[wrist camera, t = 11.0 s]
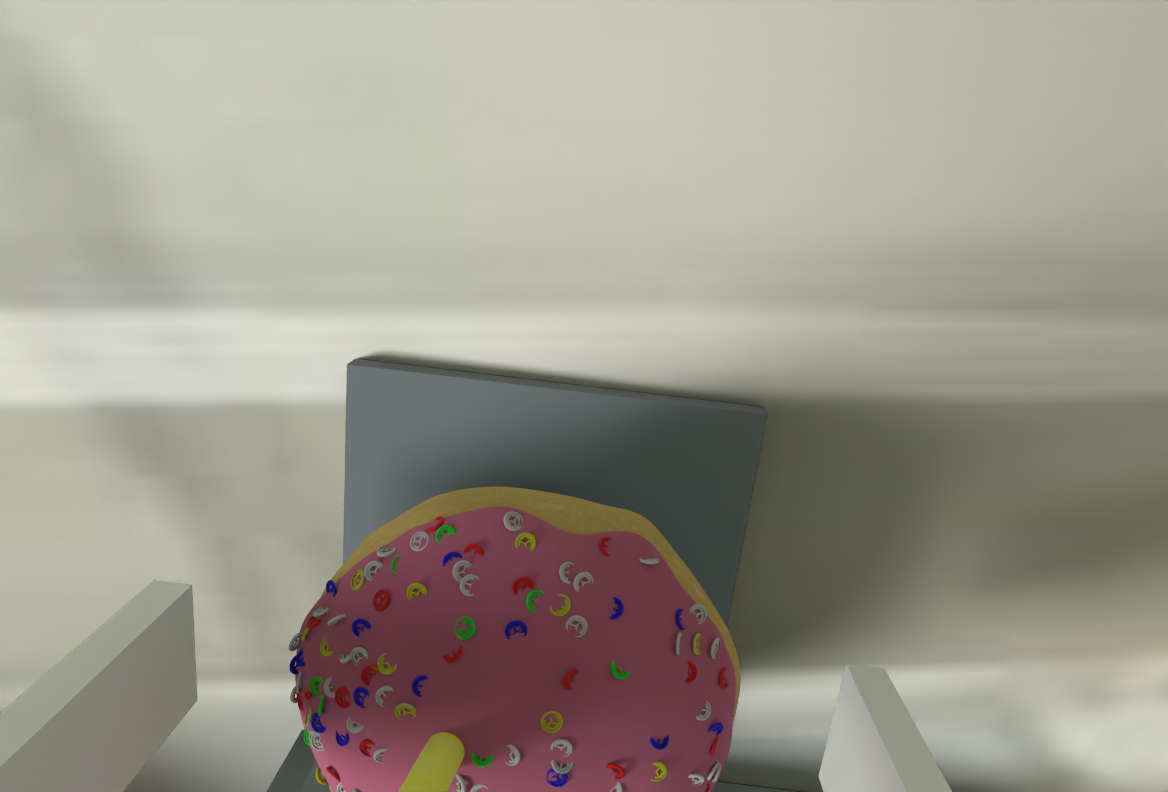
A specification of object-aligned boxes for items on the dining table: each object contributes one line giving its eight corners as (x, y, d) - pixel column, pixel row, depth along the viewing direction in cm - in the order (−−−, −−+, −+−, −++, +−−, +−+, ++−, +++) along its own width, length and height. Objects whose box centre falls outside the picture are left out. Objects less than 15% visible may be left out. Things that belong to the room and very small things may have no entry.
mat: (355, 358, 18) (347, 364, 17) (762, 406, 18) (766, 414, 17) (347, 700, 21) (340, 715, 20) (699, 743, 21) (701, 760, 20)
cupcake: (316, 603, 19) (-129, 1222, 8) (494, 346, 17) (242, 677, 6) (583, 768, 20) (536, 1527, 9) (782, 546, 18) (1058, 1164, 7)
